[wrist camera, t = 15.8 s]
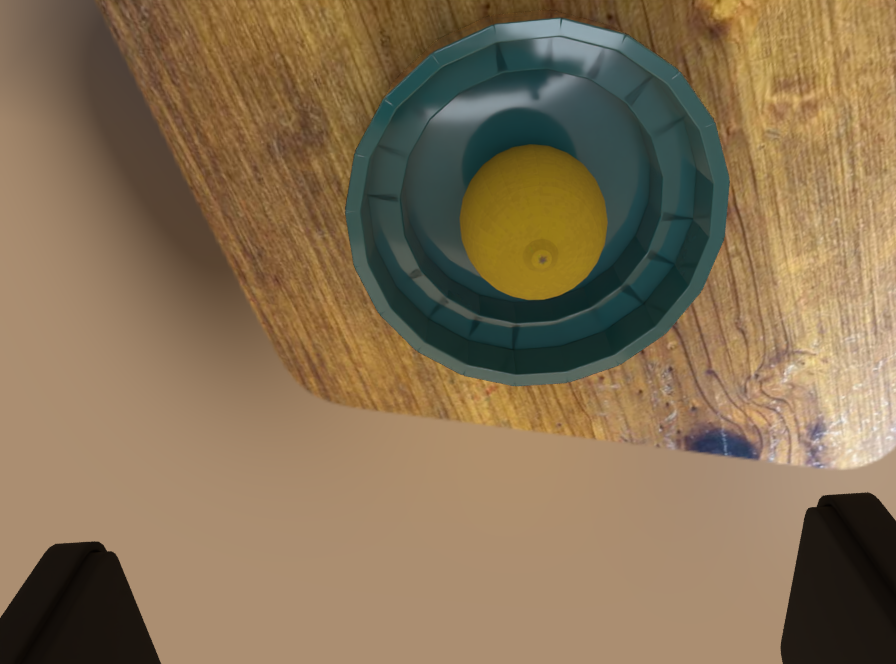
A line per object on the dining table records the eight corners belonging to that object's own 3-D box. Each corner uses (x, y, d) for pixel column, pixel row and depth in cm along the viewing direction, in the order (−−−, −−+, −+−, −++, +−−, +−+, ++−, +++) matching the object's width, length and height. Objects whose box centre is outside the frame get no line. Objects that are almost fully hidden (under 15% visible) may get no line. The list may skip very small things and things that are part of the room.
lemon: (526, 274, 33) (543, 362, 25) (434, 196, 31) (424, 266, 24) (617, 185, 31) (661, 253, 23) (522, 96, 29) (540, 141, 22)
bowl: (386, 340, 35) (374, 395, 31) (340, 28, 29) (316, 41, 24) (680, 320, 34) (712, 374, 30) (702, -8, 28) (746, -1, 23)
